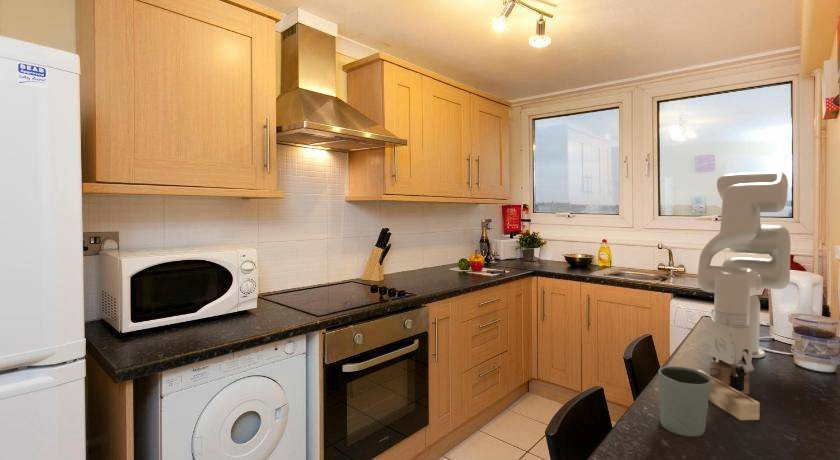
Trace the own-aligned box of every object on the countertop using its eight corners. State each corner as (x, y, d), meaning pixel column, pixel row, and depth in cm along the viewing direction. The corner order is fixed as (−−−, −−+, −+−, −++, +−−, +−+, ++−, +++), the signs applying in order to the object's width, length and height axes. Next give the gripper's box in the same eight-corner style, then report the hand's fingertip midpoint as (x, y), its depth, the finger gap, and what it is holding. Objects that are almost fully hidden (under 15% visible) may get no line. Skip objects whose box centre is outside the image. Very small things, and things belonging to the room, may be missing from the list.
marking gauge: (705, 387, 118) (705, 362, 118) (741, 386, 118) (741, 361, 118) (716, 395, 113) (717, 368, 113) (754, 394, 114) (755, 367, 113)
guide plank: (683, 384, 120) (684, 370, 120) (699, 384, 120) (700, 369, 120) (740, 420, 100) (740, 402, 100) (759, 419, 100) (759, 402, 100)
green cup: (662, 412, 105) (663, 362, 104) (713, 425, 98) (714, 372, 98) (653, 429, 97) (653, 376, 96) (707, 444, 90) (708, 387, 90)
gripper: (695, 311, 123) (694, 374, 124) (742, 327, 106) (740, 401, 107) (721, 310, 123) (720, 373, 124) (772, 326, 107) (769, 400, 108)
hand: (729, 385), depth 116 cm, fingers closed on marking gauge, 4 cm apart
